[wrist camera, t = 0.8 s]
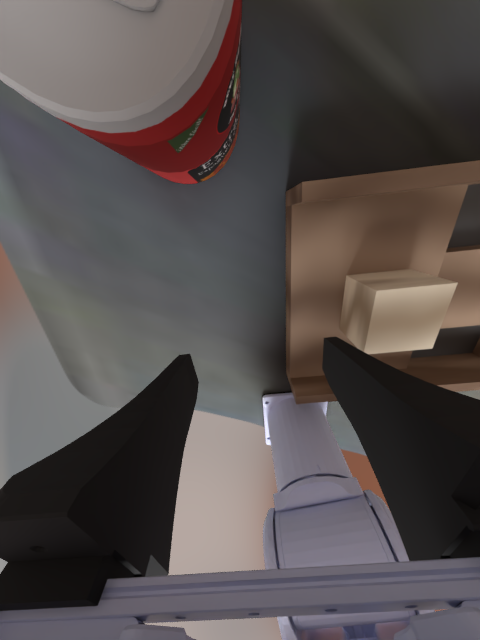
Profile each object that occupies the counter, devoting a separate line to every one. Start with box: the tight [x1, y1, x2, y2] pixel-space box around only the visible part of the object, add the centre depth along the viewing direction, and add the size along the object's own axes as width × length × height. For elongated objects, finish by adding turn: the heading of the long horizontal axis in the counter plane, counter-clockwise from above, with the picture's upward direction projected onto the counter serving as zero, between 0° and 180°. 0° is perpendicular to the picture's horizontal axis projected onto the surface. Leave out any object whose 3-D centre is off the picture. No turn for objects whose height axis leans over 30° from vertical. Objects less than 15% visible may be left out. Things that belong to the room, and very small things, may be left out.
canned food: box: [0, 0, 242, 184], centre depth 9 cm, size 8×8×11 cm
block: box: [339, 269, 458, 354], centre depth 16 cm, size 5×5×4 cm
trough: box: [286, 160, 480, 404], centre depth 17 cm, size 18×29×4 cm, turn 96°
